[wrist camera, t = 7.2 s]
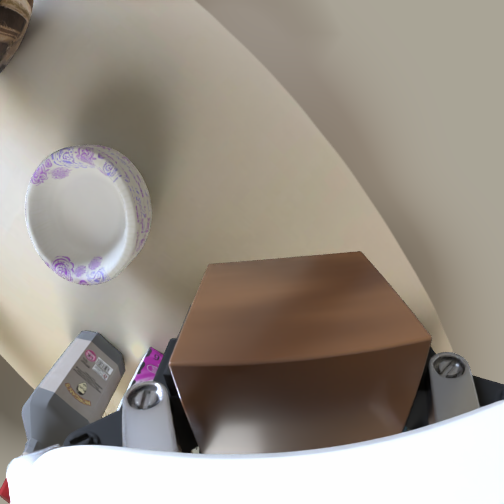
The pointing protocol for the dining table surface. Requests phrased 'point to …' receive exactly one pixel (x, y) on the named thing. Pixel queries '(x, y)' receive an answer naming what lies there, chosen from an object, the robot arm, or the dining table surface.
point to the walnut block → (297, 355)
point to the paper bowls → (87, 213)
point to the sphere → (12, 27)
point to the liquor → (71, 394)
